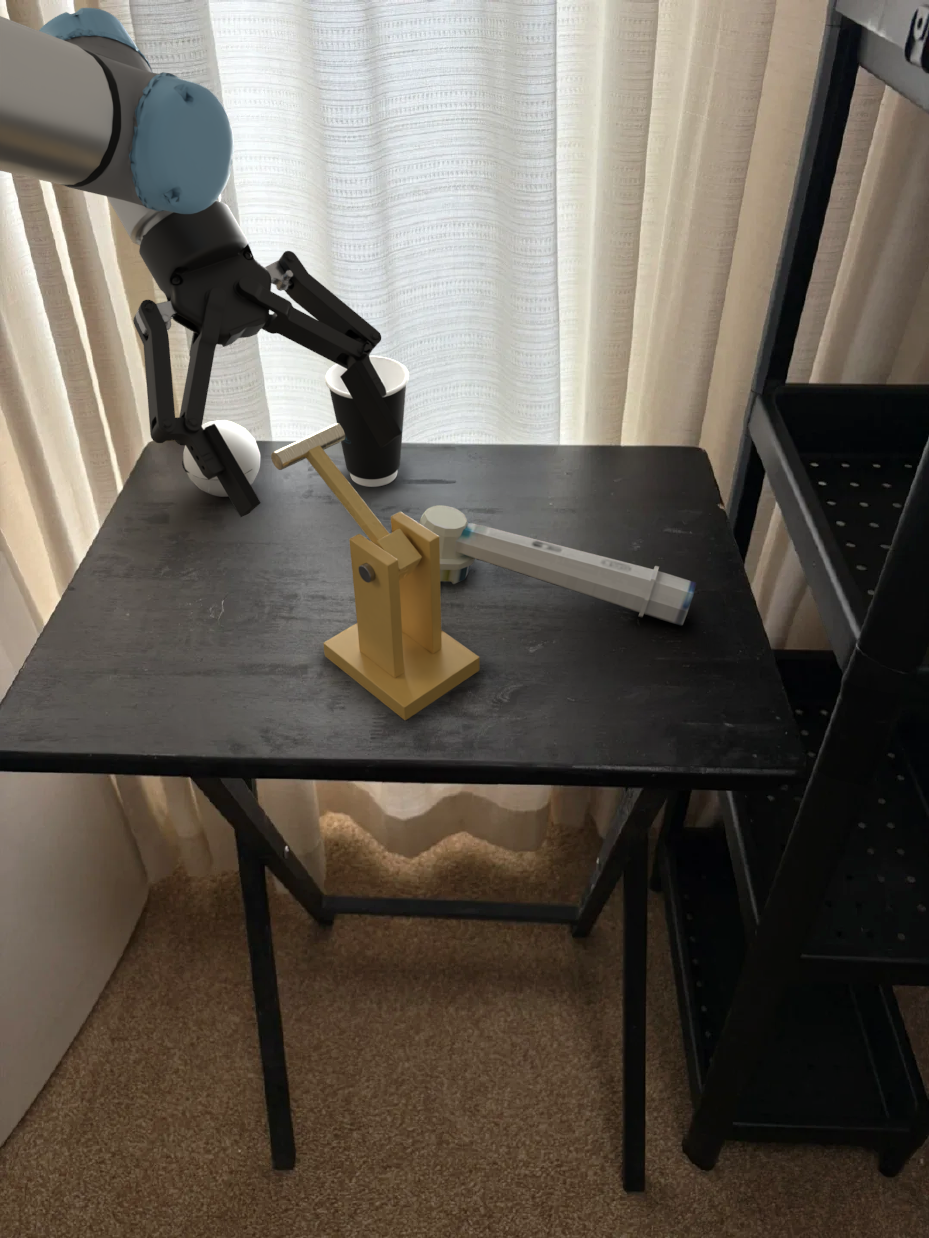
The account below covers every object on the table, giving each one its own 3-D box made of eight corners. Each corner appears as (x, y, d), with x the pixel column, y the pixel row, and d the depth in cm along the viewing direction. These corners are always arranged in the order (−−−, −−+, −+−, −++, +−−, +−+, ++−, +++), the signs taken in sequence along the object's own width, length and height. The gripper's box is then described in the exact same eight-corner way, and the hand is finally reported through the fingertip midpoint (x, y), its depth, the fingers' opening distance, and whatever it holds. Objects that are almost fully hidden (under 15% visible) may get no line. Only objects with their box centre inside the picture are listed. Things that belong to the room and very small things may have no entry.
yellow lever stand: (324, 656, 86) (308, 530, 77) (398, 611, 90) (391, 487, 81) (405, 720, 80) (397, 593, 72) (479, 670, 84) (481, 544, 76)
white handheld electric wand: (690, 605, 84) (402, 513, 88) (669, 661, 89) (395, 572, 92) (701, 566, 88) (423, 480, 92) (679, 622, 93) (416, 538, 96)
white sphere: (206, 465, 107) (193, 402, 102) (275, 473, 106) (266, 409, 101) (166, 522, 99) (150, 457, 95) (240, 532, 98) (228, 466, 93)
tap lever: (268, 463, 79) (273, 445, 77) (330, 434, 82) (337, 415, 80) (371, 596, 77) (379, 581, 75) (431, 561, 80) (441, 546, 78)
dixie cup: (428, 468, 106) (426, 370, 99) (378, 505, 101) (372, 405, 94) (369, 443, 110) (362, 347, 102) (318, 478, 105) (307, 379, 98)
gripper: (31, 246, 68) (198, 529, 70) (331, 157, 81) (465, 398, 83) (17, 298, 75) (170, 556, 77) (297, 207, 88) (422, 430, 90)
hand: (324, 474), depth 80 cm, fingers open, 13 cm apart
